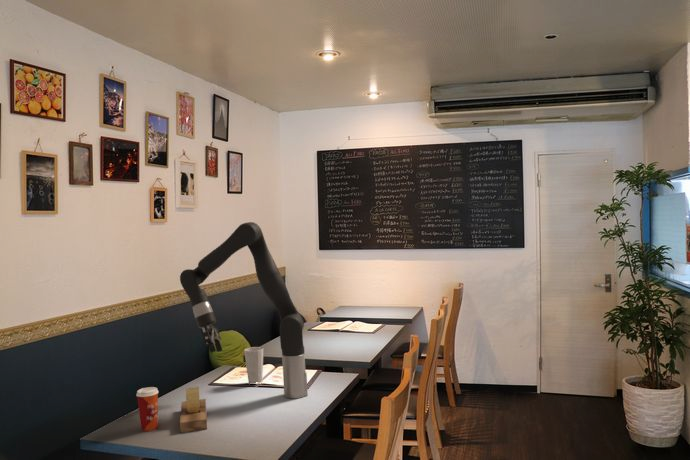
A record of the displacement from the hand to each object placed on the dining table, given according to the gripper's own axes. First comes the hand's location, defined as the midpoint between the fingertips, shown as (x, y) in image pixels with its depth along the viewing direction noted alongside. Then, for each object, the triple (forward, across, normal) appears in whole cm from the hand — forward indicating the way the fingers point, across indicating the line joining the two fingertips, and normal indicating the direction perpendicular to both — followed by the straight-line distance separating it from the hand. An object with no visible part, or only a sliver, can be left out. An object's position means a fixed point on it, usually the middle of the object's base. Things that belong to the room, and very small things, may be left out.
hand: (216, 351), depth 233 cm
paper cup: (+18, -25, +24) cm, 40 cm away
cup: (+18, +26, -4) cm, 31 cm away
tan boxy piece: (+22, -17, +11) cm, 30 cm away
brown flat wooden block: (+22, -17, +11) cm, 30 cm away
